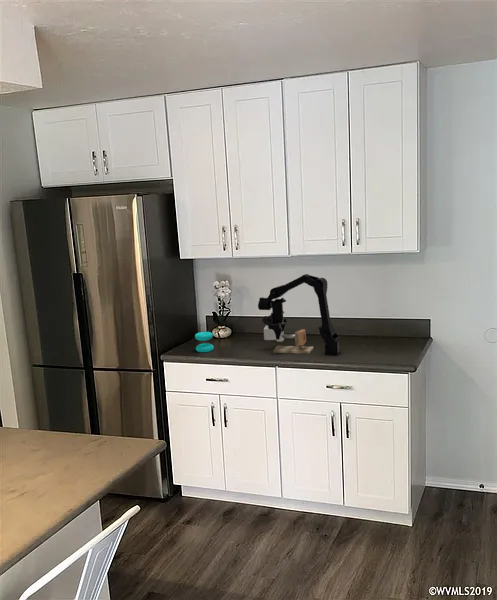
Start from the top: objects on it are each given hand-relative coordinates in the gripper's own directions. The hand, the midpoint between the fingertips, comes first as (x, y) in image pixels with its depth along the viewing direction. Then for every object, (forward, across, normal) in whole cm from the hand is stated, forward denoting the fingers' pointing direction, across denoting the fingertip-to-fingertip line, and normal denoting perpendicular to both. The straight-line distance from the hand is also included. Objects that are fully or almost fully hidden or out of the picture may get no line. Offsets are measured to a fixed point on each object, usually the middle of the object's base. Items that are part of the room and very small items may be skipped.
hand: (279, 338), depth 328 cm
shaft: (+1, 0, +6) cm, 6 cm away
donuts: (+7, +4, -42) cm, 43 cm away
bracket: (+7, 0, +8) cm, 10 cm away
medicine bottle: (+7, -26, -12) cm, 30 cm away
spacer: (+3, 0, +13) cm, 13 cm away
